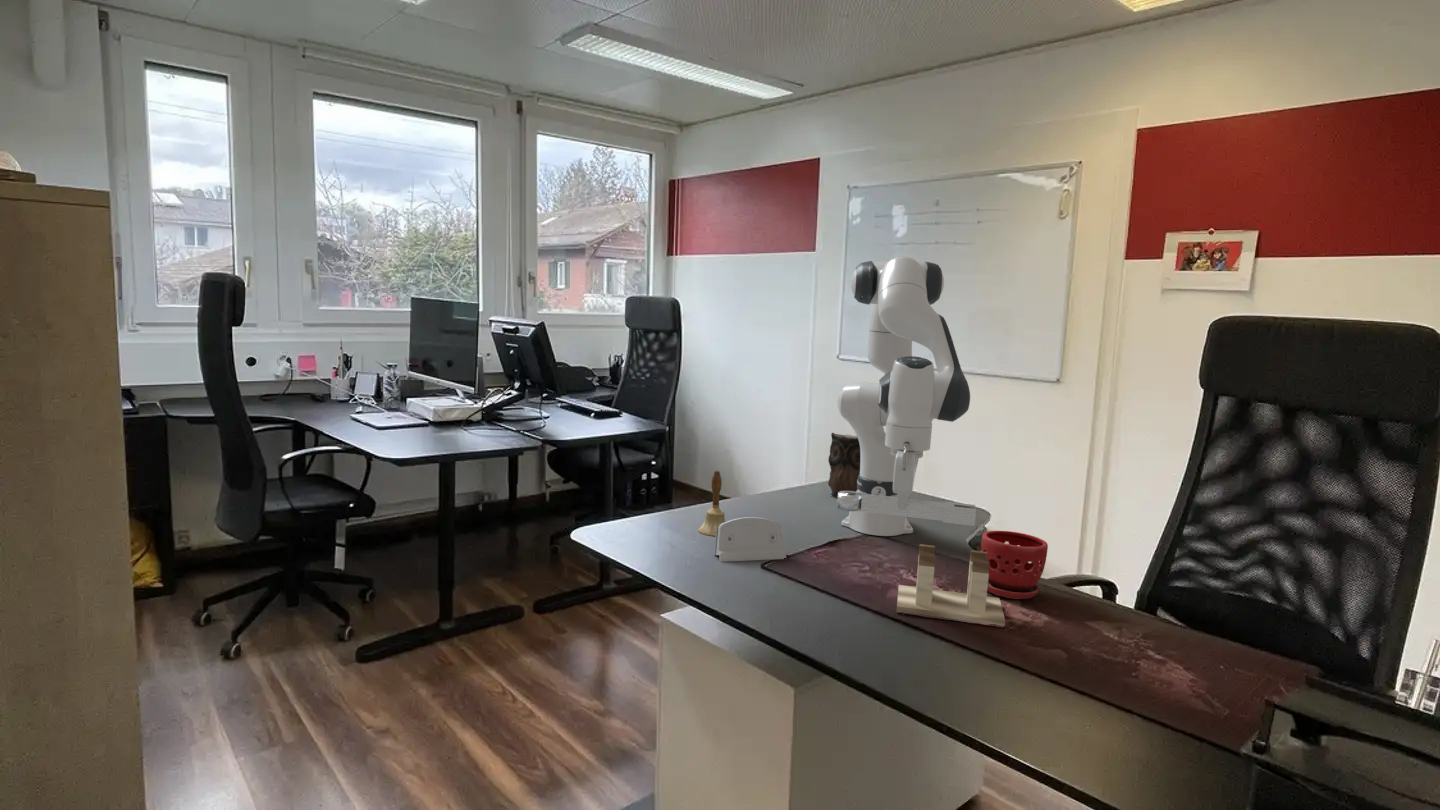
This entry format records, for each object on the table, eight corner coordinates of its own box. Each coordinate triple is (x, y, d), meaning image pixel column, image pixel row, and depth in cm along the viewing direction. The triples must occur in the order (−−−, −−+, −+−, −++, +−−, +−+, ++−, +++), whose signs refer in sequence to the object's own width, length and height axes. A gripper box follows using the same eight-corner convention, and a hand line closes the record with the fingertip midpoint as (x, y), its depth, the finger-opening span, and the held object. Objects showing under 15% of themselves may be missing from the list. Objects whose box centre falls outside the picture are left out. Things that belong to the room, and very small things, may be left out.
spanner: (835, 509, 157) (836, 494, 157) (838, 503, 162) (839, 489, 161) (974, 526, 150) (976, 510, 149) (973, 519, 155) (975, 504, 154)
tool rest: (898, 591, 162) (902, 538, 161) (998, 605, 158) (1003, 550, 156) (896, 613, 151) (900, 556, 149) (1004, 628, 146) (1010, 570, 144)
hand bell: (734, 535, 196) (737, 474, 194) (702, 536, 194) (704, 474, 192) (726, 526, 204) (728, 466, 202) (695, 527, 202) (697, 467, 200)
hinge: (718, 561, 176) (716, 517, 178) (713, 562, 181) (711, 518, 182) (788, 558, 180) (785, 515, 182) (781, 558, 185) (779, 516, 187)
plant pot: (1048, 606, 158) (1055, 550, 156) (982, 599, 160) (987, 543, 159) (1035, 584, 171) (1040, 531, 169) (973, 577, 173) (978, 525, 171)
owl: (873, 503, 234) (878, 438, 231) (832, 502, 233) (837, 437, 230) (862, 493, 246) (867, 431, 243) (823, 492, 245) (827, 430, 242)
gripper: (923, 449, 143) (917, 521, 145) (925, 432, 163) (919, 496, 164) (888, 445, 145) (882, 517, 147) (894, 430, 164) (889, 493, 166)
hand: (902, 506), depth 156 cm, fingers closed on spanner, 3 cm apart
